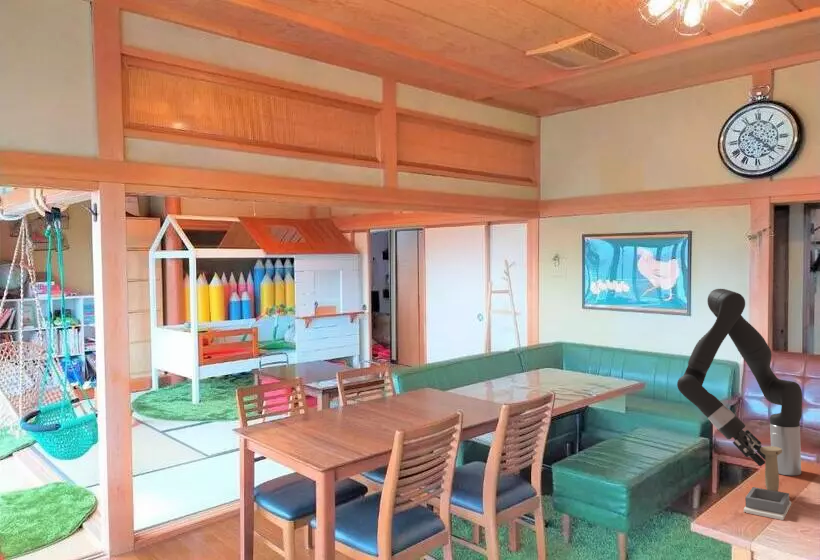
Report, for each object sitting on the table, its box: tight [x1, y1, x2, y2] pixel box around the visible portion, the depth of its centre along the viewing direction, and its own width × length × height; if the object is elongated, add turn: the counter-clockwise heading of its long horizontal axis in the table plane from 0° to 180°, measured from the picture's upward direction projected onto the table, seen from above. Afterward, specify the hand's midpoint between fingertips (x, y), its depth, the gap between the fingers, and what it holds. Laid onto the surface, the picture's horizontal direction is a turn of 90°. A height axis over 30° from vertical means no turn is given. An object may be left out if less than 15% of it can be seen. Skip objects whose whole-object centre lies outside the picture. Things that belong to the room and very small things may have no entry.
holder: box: [743, 486, 792, 521], centre depth 187 cm, size 15×10×4 cm
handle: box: [760, 445, 782, 492], centre depth 198 cm, size 5×6×15 cm
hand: (765, 461), depth 199 cm, fingers open, 8 cm apart
